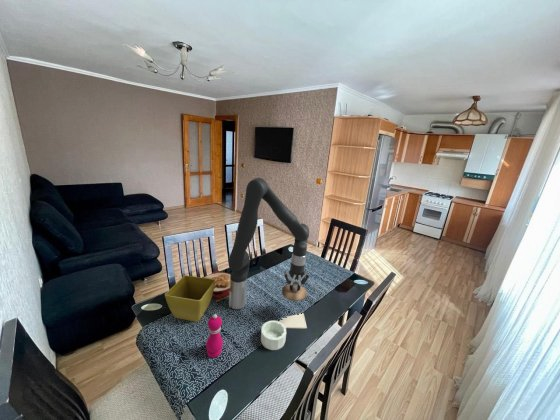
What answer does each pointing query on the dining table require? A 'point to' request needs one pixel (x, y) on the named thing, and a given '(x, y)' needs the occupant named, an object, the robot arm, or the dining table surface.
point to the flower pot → (190, 297)
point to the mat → (294, 321)
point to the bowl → (273, 335)
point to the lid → (294, 292)
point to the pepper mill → (214, 337)
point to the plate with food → (220, 283)
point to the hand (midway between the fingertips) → (294, 290)
